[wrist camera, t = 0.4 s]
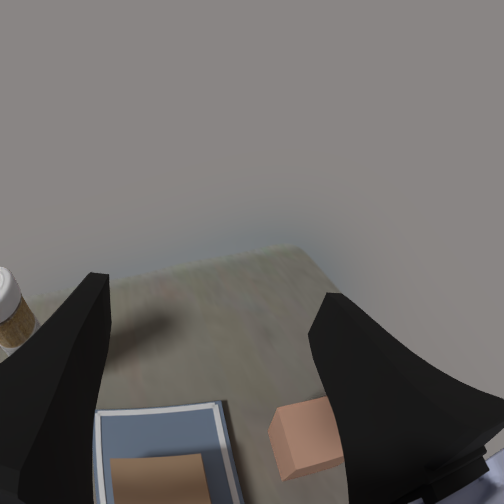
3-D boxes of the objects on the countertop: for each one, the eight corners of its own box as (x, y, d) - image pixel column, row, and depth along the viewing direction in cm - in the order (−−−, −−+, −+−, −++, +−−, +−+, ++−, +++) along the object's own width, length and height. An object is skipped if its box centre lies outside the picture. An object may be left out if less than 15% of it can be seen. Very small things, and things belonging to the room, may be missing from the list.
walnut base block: (219, 536, 17) (219, 538, 15) (131, 541, 16) (120, 542, 14) (203, 460, 22) (200, 453, 20) (120, 466, 21) (109, 458, 19)
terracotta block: (337, 465, 23) (361, 449, 19) (282, 481, 22) (296, 469, 18) (320, 418, 26) (340, 392, 22) (267, 430, 25) (277, 407, 21)
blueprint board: (267, 585, 14) (268, 586, 14) (116, 593, 11) (113, 594, 11) (221, 402, 27) (220, 399, 27) (94, 412, 25) (91, 409, 24)
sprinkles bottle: (46, 351, 28) (-10, 258, 20) (78, 366, 28) (22, 271, 19) (27, 384, 25) (-43, 297, 16) (58, 402, 24) (-14, 317, 16)
